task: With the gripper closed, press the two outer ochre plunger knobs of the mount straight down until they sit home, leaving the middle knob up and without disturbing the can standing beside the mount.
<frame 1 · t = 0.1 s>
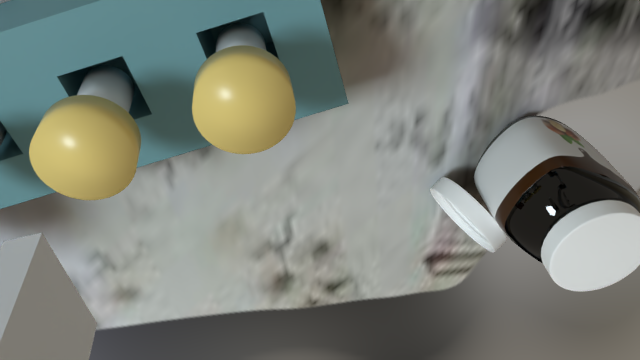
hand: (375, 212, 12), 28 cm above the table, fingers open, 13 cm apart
mount: (120, 52, 38), on the table
plunger mid: (97, 120, 31), point 9 cm above the table, slide at 4.0 cm
plunger 2: (242, 75, 31), point 9 cm above the table, slide at 4.0 cm
spread jar: (502, 167, 48), on the table
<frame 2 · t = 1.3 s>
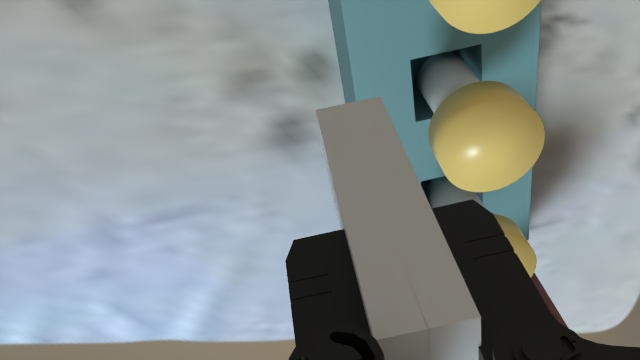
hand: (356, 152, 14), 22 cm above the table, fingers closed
mount: (417, 41, 37), on the table
plunger mid: (464, 109, 30), point 9 cm above the table, slide at 4.0 cm
plunger 1: (468, 227, 34), point 9 cm above the table, slide at 4.0 cm
can: (468, 239, 47), on the table
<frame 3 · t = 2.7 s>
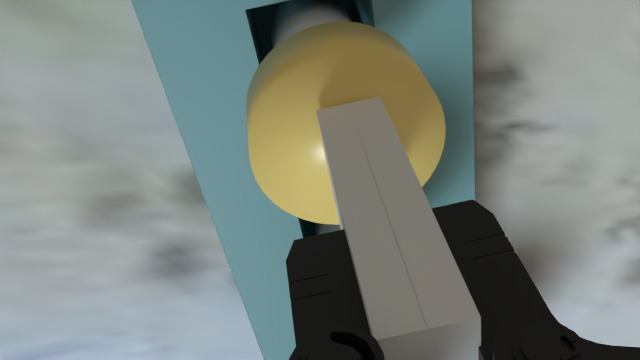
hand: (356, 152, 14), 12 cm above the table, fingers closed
mount: (330, 156, 28), on the table
plunger mid: (366, 288, 21), point 9 cm above the table, slide at 4.0 cm
plunger 2: (326, 79, 17), point 8 cm above the table, slide at 3.0 cm, touching gripper
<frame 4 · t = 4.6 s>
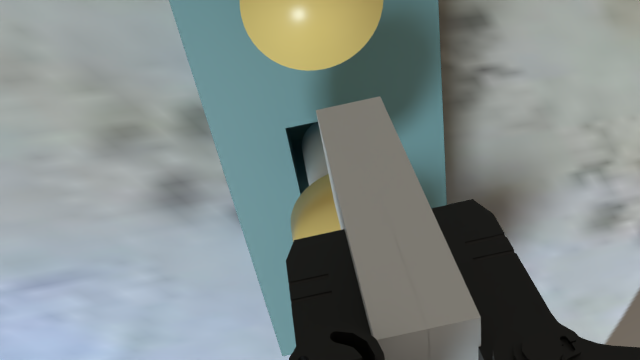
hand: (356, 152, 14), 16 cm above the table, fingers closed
mount: (318, 93, 31), on the table
plunger mid: (344, 191, 24), point 9 cm above the table, slide at 4.0 cm
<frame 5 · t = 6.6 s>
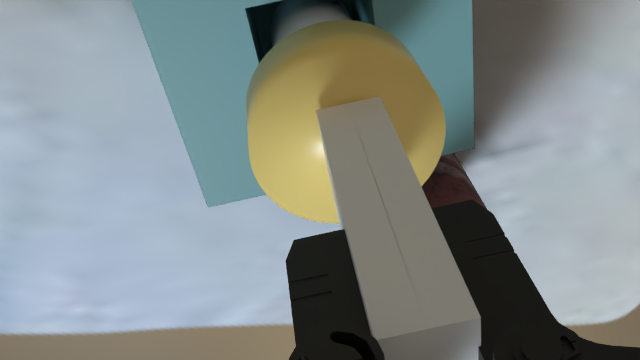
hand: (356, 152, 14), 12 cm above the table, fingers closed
plunger 1: (326, 77, 17), point 8 cm above the table, slide at 3.0 cm, touching gripper
can: (394, 172, 30), on the table
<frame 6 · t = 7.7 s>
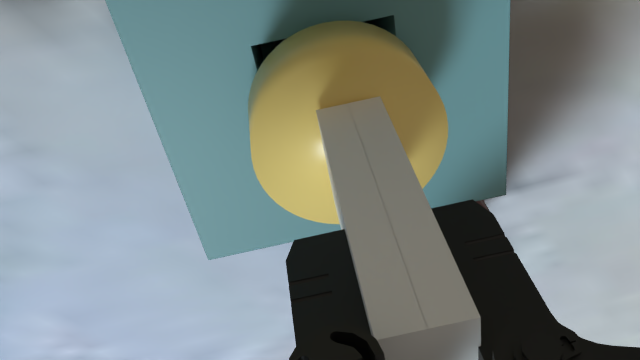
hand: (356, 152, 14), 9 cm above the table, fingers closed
plunger 1: (328, 78, 17), point 5 cm above the table, slide at 0.2 cm, touching gripper
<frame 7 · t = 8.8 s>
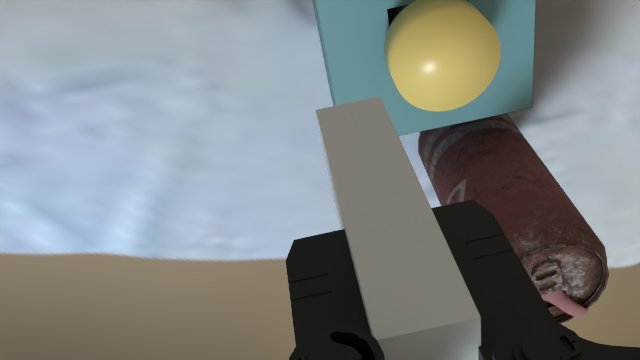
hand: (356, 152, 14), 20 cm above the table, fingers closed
plunger 1: (425, 31, 29), point 5 cm above the table, slide at 0.2 cm
can: (462, 134, 39), on the table
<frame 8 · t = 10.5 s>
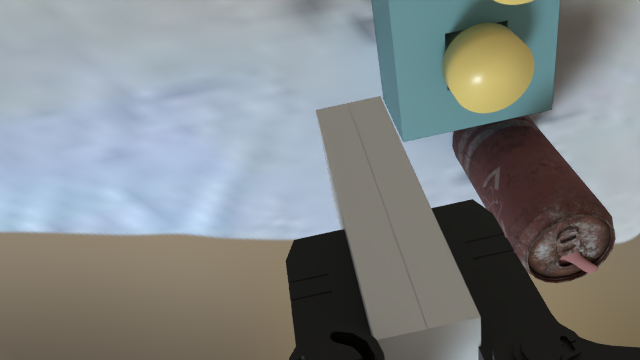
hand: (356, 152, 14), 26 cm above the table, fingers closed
plunger 1: (471, 49, 37), point 5 cm above the table, slide at 0.2 cm
can: (488, 131, 47), on the table
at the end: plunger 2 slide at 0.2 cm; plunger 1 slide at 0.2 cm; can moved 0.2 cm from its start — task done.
